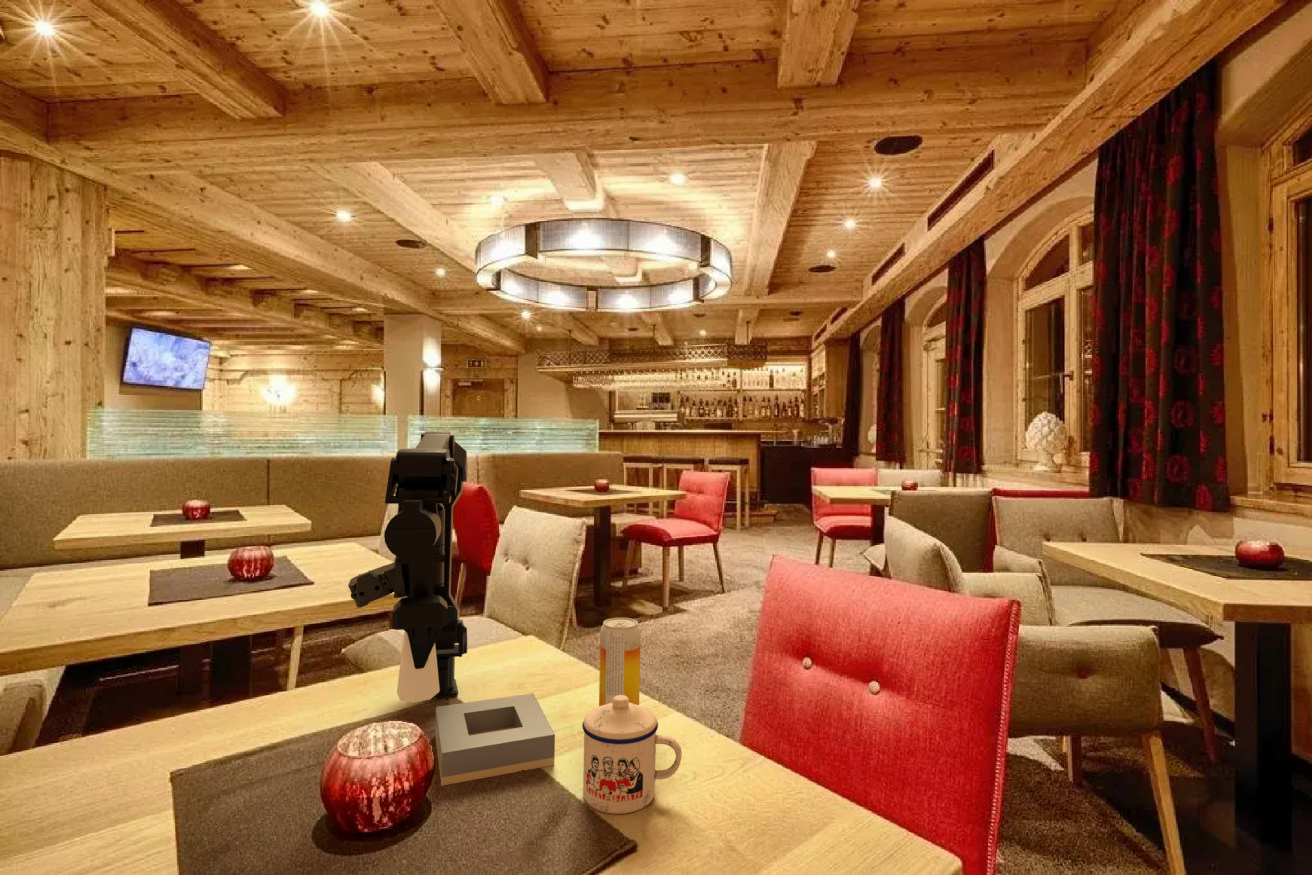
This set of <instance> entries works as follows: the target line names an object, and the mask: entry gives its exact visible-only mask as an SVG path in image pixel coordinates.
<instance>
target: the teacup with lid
mask: <svg viewBox="0 0 1312 875" xmlns="http://www.w3.org/2000/svg"><path fill="white" fill-rule="evenodd" d="M658 728H659V722H658V720H657V716H656V715H655V714H654V712H653V711H652V710H650V709H649V708H648V707H644V706H642V705H640V704H639V705H635V704H632V703H630V702H629V699H628V697H627V696H624V695H617V696H615V697H614V698H613V700H612V703H609V704H606V705H602V706H599V705H598V706H596V707H595V708H593V709H591V710H590V711H589V712H587V713H586V715H585V717H584V718H583V721H582V730H583V735H584V736H583V780H582V781H583V786H582V787H583V788H582V794H583V797H584V801H585V802H586V803H587V804H588V805H589V806H590V807H591V808H593V809H595V810H597V811H600V812H602V813H607V814H613V815H620V814H621V815H623V814H630V813H633V812H638V811H640V810H641V809H644V808H645V807H647V806H648V805H649V804H650V803H651V802H652V801H653V798H654V797H655V792H656V791H655V790H656V780H665V779H668V778H671V777H672V776H673V775H674V774H676V772H677V771H678V769H679V768H680V765H681V762H682V748H681V745H680V743H679V742H678V741H677V740H676V739H675V738H673V737H671V736H669V735H664V734H663V735H661V734H657V730H658ZM657 744H658V745H666V746H668V747H670V748H672V749H673V751H674V754H675V759H674V761H673V763H672V764H671V766H669V767H668V768H666V769H662V770H656V754H657V753H656V748H657V747H656V745H657Z"/></svg>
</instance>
